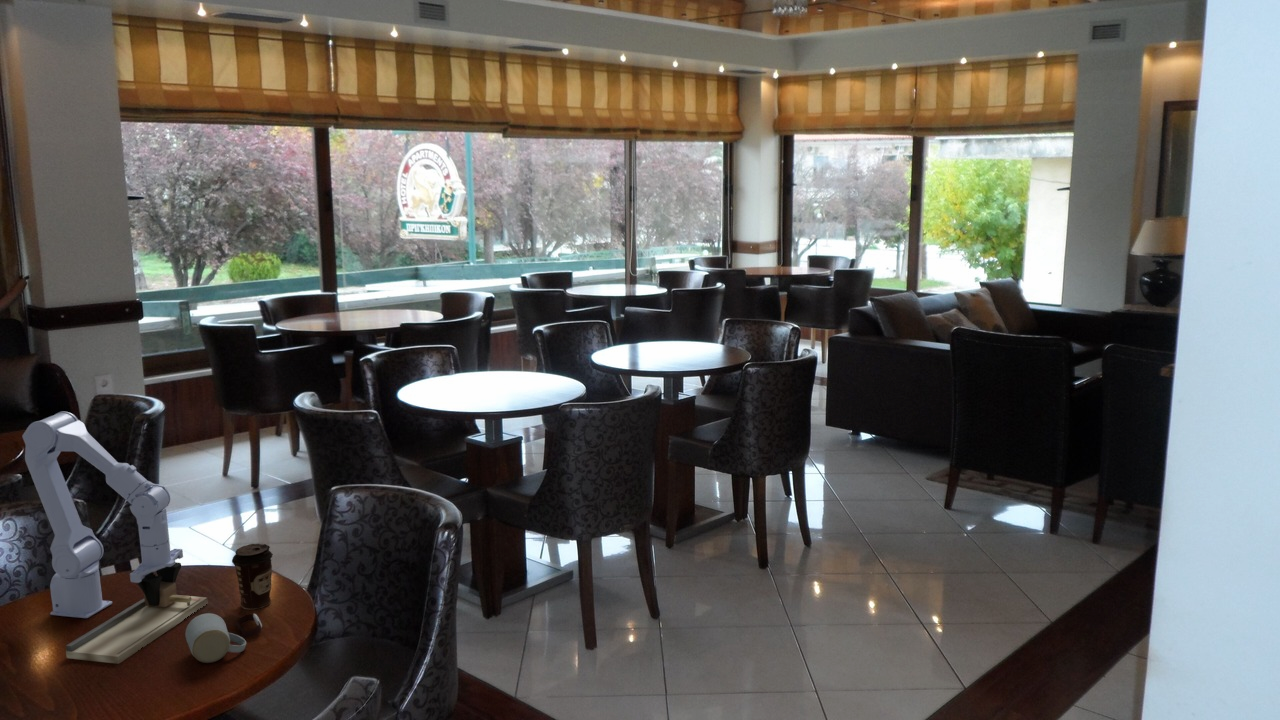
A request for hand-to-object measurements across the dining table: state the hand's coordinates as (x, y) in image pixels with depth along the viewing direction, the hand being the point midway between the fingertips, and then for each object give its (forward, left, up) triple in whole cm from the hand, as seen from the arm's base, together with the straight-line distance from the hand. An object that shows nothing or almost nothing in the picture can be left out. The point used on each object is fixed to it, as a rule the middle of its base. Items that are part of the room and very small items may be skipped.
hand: (161, 600), depth 221 cm
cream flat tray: (+2, -9, -2) cm, 9 cm away
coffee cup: (+19, +7, -3) cm, 20 cm away
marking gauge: (+2, 0, -1) cm, 2 cm away
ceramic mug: (+24, -15, -3) cm, 29 cm away
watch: (+25, -5, -3) cm, 25 cm away
